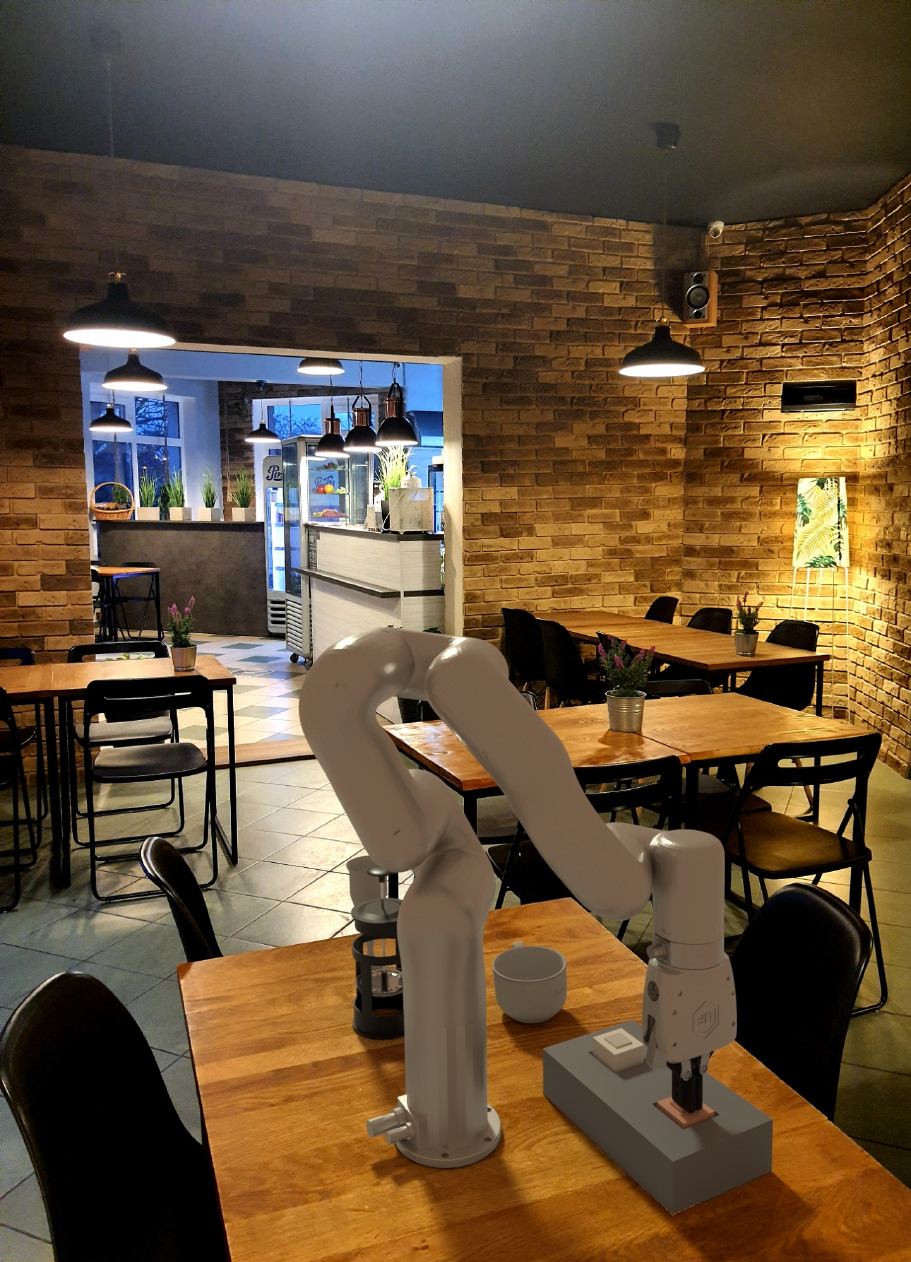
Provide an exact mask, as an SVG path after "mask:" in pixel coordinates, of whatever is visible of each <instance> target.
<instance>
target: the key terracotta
mask: <svg viewBox="0 0 911 1262" xmlns="http://www.w3.org/2000/svg"><path fill="white" fill-rule="evenodd" d="M657 1109H659V1110H660V1111H661V1112H662V1113H664V1114H665V1115H666V1116H667V1117H669V1118H670V1119H671V1120H672V1121H673V1122H675V1123H676V1124H677V1125H678V1126H680V1127H681V1128H682V1129H683V1130H684V1129H686V1128H689V1127H691V1126H694V1125H696V1124H699V1123H701V1122H704V1121H706V1120H708V1119H711V1118H713V1117H715V1111H714V1110H712V1109H711V1108H710V1107H708V1106H707V1105H706V1104H704V1103H703V1108H702V1109H701V1110H699V1111H697V1110H695V1112H694V1113H691V1114H690V1113H688V1112H687V1111H686V1110H685V1109H683V1108H682V1107H681V1106H680V1105H678V1104H677V1103H676V1102H674V1101H673V1099H672V1096H671V1097H669V1098H666V1099H663V1100H661V1101H658V1102H657Z"/></svg>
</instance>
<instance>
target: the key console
mask: <svg viewBox="0 0 911 1262" xmlns="http://www.w3.org/2000/svg"><path fill="white" fill-rule="evenodd" d="M620 1028H622V1029H623V1030H625V1031H626V1032H627V1033H629V1034H630V1035H631V1036H633V1037H634V1038H636V1039H637V1040H638V1041H640V1042H641V1043H642V1044H644V1042H643V1037H642V1024H639V1023H638V1022H637V1021H635V1020H634V1019H631V1020H626V1021H625V1022H621V1023H618V1024H615V1025H613V1026H609V1027H605V1028H603V1029H599V1030H596V1031H593V1032H590V1033H587V1034H584V1035H581V1036H578V1037H574V1038H572V1039H568V1040H565V1041H562V1042H559V1043H555V1044H553V1045H549V1046H547V1047H544V1048H542V1095H543V1096H545V1098H547V1099H548V1100H549V1101H550V1102H551V1103H552V1104H553V1106H555V1107H556V1108H557V1109H558V1110H560V1112H561V1113H563V1114H564V1116H565V1117H567V1118H568V1119H569V1120H570V1121H571V1122H572V1123H573V1124H574V1125H575V1126H576V1127H577V1129H579V1130H580V1131H582V1132H583V1133H584V1134H585V1135H586V1136H587V1138H589V1139H590V1140H591V1141H592V1142H593V1143H594V1144H595V1145H596V1146H597V1147H598V1148H599V1149H600V1150H602V1152H604V1153H605V1154H606V1155H607V1156H608V1157H609V1158H610V1159H611V1160H612V1161H613V1162H614V1163H615V1164H616V1165H617V1166H619V1168H620V1169H622V1170H623V1172H625V1173H626V1174H627V1175H628V1176H629V1177H630V1178H631V1179H632V1180H633V1181H634V1182H635V1183H637V1185H638V1186H640V1187H641V1189H643V1190H644V1191H645V1192H646V1193H647V1194H648V1195H649V1194H650V1195H651V1196H652V1197H653V1198H654V1199H653V1198H652V1197H651V1198H652V1199H653V1200H654V1201H656V1202H657V1203H658V1204H659V1203H660V1204H662V1206H663V1207H664V1208H666V1209H667V1210H668V1211H669V1212H670V1213H671V1214H672V1215H673V1214H675V1213H678V1212H679V1211H682V1210H684V1209H686V1208H689V1207H690V1206H693V1205H696V1204H698V1205H700V1204H699V1203H701V1204H703V1203H704V1202H703V1201H705V1202H707V1201H709V1200H711V1198H712V1199H714V1198H716V1197H718V1196H720V1195H722V1194H725V1193H727V1192H729V1191H731V1190H734V1189H735V1187H736V1188H738V1187H740V1186H742V1185H744V1184H747V1183H748V1182H751V1181H754V1180H756V1179H757V1178H759V1177H762V1176H764V1175H766V1174H768V1173H770V1172H772V1171H773V1133H774V1131H773V1128H774V1127H773V1125H774V1119H773V1118H772V1117H770V1116H769V1115H767V1114H766V1113H765V1112H763V1111H762V1110H760V1109H759V1108H758V1107H756V1106H755V1105H753V1104H752V1103H751V1102H749V1101H747V1099H745V1098H743V1097H742V1096H740V1095H739V1094H738V1093H736V1092H735V1091H733V1090H732V1089H731V1088H730V1087H728V1086H727V1085H725V1084H724V1083H722V1082H721V1081H719V1080H718V1079H717V1078H715V1077H714V1076H712V1075H711V1074H709V1073H708V1071H707V1072H706V1073H705V1074H702V1076H703V1103H704V1104H706V1105H707V1106H708V1107H710V1108H711V1109H712V1110H714V1111H715V1117H713V1118H711V1119H708V1120H706V1121H704V1122H701V1123H699V1124H696V1125H694V1126H691V1127H689V1128H686V1129H684V1130H683V1129H682V1128H681V1127H680V1126H678V1125H677V1124H676V1123H675V1122H673V1121H672V1120H671V1119H670V1118H669V1117H667V1116H666V1115H665V1114H664V1113H662V1112H661V1111H660V1110H659V1109H657V1102H658V1101H661V1100H663V1099H666V1098H669V1097H671V1096H672V1071H671V1070H670V1069H669V1068H663V1069H654V1068H652V1067H651V1066H650V1065H649V1064H647V1063H646V1055H647V1049H648V1046H646V1045H645V1044H644V1063H642V1064H639V1065H636V1066H634V1067H631V1068H628V1069H625V1070H622V1071H619V1072H616V1073H613V1072H612V1071H611V1070H609V1069H608V1068H607V1067H606V1066H604V1065H603V1064H602V1063H601V1062H600V1061H598V1060H597V1059H596V1058H595V1057H593V1037H595V1036H598V1035H602V1034H605V1033H608V1032H611V1031H614V1030H617V1029H620ZM724 1192H725V1193H724ZM650 1195H649V1196H650ZM713 1197H714V1198H713ZM708 1199H709V1200H708ZM706 1200H707V1201H706ZM702 1202H703V1203H702ZM660 1204H659V1205H660ZM662 1206H661V1207H662ZM696 1206H697V1205H696ZM663 1207H662V1208H663ZM664 1208H663V1209H664Z"/></svg>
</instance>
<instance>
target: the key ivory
mask: <svg viewBox="0 0 911 1262" xmlns="http://www.w3.org/2000/svg"><path fill="white" fill-rule="evenodd" d="M593 1057H595V1058H596V1059H597V1060H598V1061H600V1062H601V1063H602V1064H603V1065H604V1066H606V1067H607V1068H608V1069H609V1070H611V1071H612V1072H613V1073H616V1072H619V1071H622V1070H625V1069H628V1068H631V1067H634V1066H636V1065H639V1064H642V1063H644V1044H642V1043H641V1042H640V1041H638V1040H637V1039H636V1038H634V1037H633V1036H631V1035H630V1034H629V1033H627V1032H626V1031H625V1030H623V1029H622V1028H620V1029H617V1030H614V1031H611V1032H608V1033H605V1034H602V1035H598V1036H595V1037H593Z"/></svg>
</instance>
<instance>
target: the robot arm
mask: <svg viewBox="0 0 911 1262" xmlns="http://www.w3.org/2000/svg"><path fill="white" fill-rule="evenodd" d="M509 672H510V671H509V666H508V663H507V660H506V658H505V656H504V655H503V654H502V652H501V650H499V649H498V647H496V646H495V645H494V644H492V643H490V642H488V641H487V640H483V639H480V638H475V637H468V636H463V635H462V636H461V635H453V634H452V635H450V634H445V633H443V634H442V633H436V632H435V633H434V632H428V631H419V630H415V629H407V628H399V627H389V626H388V627H387V626H385V627H383V626H381V627H374V628H369V629H366V630H364V631H360V632H359V633H354V634H350V635H349V636H346V637H343V638H341V639H340V640H338V641H336V642H335V643H333V644H332V645H330V646H329V647H327V648H326V649H325V650H324V651H323V652H321V654H320V655H318V657H317V658H316V660H315V661H314V663H312V665H311V666H310V668H309V669H308V672H307V674H306V675H305V677H304V679H303V682H302V685H301V688H300V690H299V691H300V693H299V698H298V717H299V722H300V726H301V730H302V732H303V735H304V738H305V739H306V742H307V744H308V746H309V748H310V750H311V751H312V753H313V755H314V756H315V758H316V761H317V762H318V764H319V766H320V767H321V769H322V771H323V773H324V774H325V776H326V777H327V780H328V781H329V783H330V785H331V787H332V790H333V792H334V794H335V795H336V797H337V800H338V802H339V803H340V805H341V807H342V809H343V811H344V812H345V813H344V814H346V817H347V818H348V820H349V821H350V824H351V825H352V827H353V829H354V831H355V833H356V835H357V837H358V839H359V842H360V843H361V845H362V846H363V848H364V850H365V851H366V853H367V856H368V855H369V856H370V858H371V859H372V860H373V861H374V862H375V863H376V864H377V865H378V866H379V867H381V868H383V869H385V870H387V871H390V872H394V874H396V873H397V874H400V873H401V874H402V873H406V872H409V871H411V872H412V873H413V875H414V877H415V878H414V879H413V880H412V882H411V883H410V885H409V887H408V888H407V890H406V892H405V894H404V896H403V898H402V899H401V900H402V903H401V906H400V909H399V913H398V919H397V938H398V945H399V952H400V958H401V966H402V979H403V1009H404V1036H403V1037H404V1073H405V1077H404V1078H405V1079H404V1080H405V1084H404V1085H405V1094H404V1095H403V1094H402V1095H400V1096H397V1107H395V1108H392V1109H391V1110H390V1113H387V1114H384V1115H383V1114H382V1115H379V1116H376V1117H373V1118H369V1119H366V1123H365V1125H366V1126H365V1127H366V1131H367V1135H368V1136H369V1138H371V1139H373V1138H377V1137H379V1136H381V1135H385V1139H386V1143H387V1144H388V1145H389V1146H390V1145H393V1144H395V1145H396V1147H397V1149H398V1151H400V1152H401V1154H403V1155H404V1156H405V1157H406V1158H408V1159H410V1160H412V1161H413V1162H416V1163H417V1164H419V1165H422V1166H423V1165H424V1166H427V1167H432V1168H436V1169H437V1168H440V1169H449V1168H450V1169H453V1168H461V1167H464V1166H468V1165H469V1166H470V1165H472V1164H475V1163H477V1162H479V1161H480V1160H482V1159H484V1158H486V1157H488V1155H489V1154H491V1153H492V1152H493V1151H494V1150H495V1149H496V1147H497V1146H498V1145H499V1142H500V1141H501V1140H500V1139H501V1136H502V1125H501V1124H502V1122H501V1121H502V1120H501V1119H500V1115H499V1114H498V1112H497V1111H496V1109H495V1108H493V1107H492V1106H491V1104H489V1103H488V1051H487V1050H488V1047H487V1045H488V1040H487V1037H488V1036H487V1035H488V1033H487V988H486V987H487V985H486V970H485V968H486V967H485V959H484V944H483V943H484V931H485V925H486V922H487V919H488V916H489V912H490V910H491V907H492V904H493V902H494V899H495V895H496V887H497V885H496V884H497V883H496V876H495V872H494V869H493V865H492V864H491V861H490V859H489V856H488V854H487V853H486V850H485V849H484V848H483V846H482V843H481V842H480V840H479V838H478V837H477V835H476V833H475V831H474V829H473V827H472V825H471V823H470V821H469V820H468V818H467V816H466V814H465V812H464V811H463V808H462V807H461V805H460V803H459V801H458V800H457V798H456V796H455V795H454V793H453V791H452V790H451V789H450V787H449V786H448V785H447V784H446V783H445V782H444V781H443V780H442V779H441V778H439V776H437V775H435V774H434V773H432V772H430V771H427V770H424V769H420V768H419V769H418V768H408V767H407V765H406V764H405V762H404V760H403V758H402V756H401V754H400V752H399V750H398V748H397V746H396V744H395V742H394V741H393V739H392V737H390V735H389V734H388V733H387V731H386V730H385V729H384V728H383V727H382V726H381V725H380V723H379V721H378V719H377V716H376V714H377V709H378V708H379V707H380V706H381V705H382V704H383V703H384V702H386V701H389V700H390V699H391V698H393V697H394V698H402V699H410V700H415V701H416V700H418V701H422V702H423V701H425V702H428V703H429V706H430V707H431V708H432V710H433V711H434V713H435V714H436V715H437V716H438V717H439V719H440V720H441V721H442V722H443V723H444V724H445V725H446V727H447V729H449V730H450V731H451V732H452V734H453V735H454V737H456V738H457V739H458V741H460V743H461V744H462V745H463V746H464V747H465V748H466V750H467V751H468V752H469V753H470V755H471V756H472V757H473V758H474V759H475V760H476V761H477V763H479V765H480V766H481V767H482V768H483V769H484V771H485V772H486V773H487V774H488V776H489V777H491V779H492V780H493V781H494V782H495V783H496V785H497V786H498V787H499V789H500V790H501V792H502V793H503V794H504V796H505V799H506V800H507V801H508V803H509V806H510V808H511V810H512V811H513V813H514V815H515V816H516V818H517V819H518V820H519V822H520V824H521V826H522V827H523V828H524V830H525V833H527V836H528V838H529V839H530V841H531V842H532V844H533V845H534V847H535V848H536V849H537V851H538V853H539V855H540V856H541V857H542V858H543V860H544V861H545V863H546V864H547V865H548V867H549V868H550V869H551V870H552V871H553V873H554V874H555V875H556V876H557V878H558V879H559V880H560V881H561V882H562V883H563V884H564V886H565V887H566V888H567V889H568V890H569V891H570V892H571V893H572V895H573V896H574V897H575V898H576V899H577V900H578V901H579V903H581V905H583V907H585V908H586V909H587V910H589V911H590V912H591V913H592V914H594V915H596V916H597V917H600V918H602V919H605V920H607V921H614V922H616V921H617V922H621V921H627V920H629V919H632V918H635V917H636V916H637V915H639V914H640V913H641V912H642V911H643V910H644V909H645V907H646V906H647V904H648V903H649V901H650V898H651V895H652V944H651V945H649V946H647V947H646V955H647V956H648V958H649V959H648V963H647V968H646V974H645V979H644V985H643V995H642V996H643V997H642V1005H641V1006H642V1008H641V1026H642V1037H643V1042H644V1044H645V1045H646V1046H648V1049H647V1055H646V1063H647V1064H649V1065H650V1066H651V1067H652V1068H654V1069H663V1068H669V1069H670V1070H671V1071H672V1099H673V1101H674V1102H676V1103H677V1104H678V1105H680V1106H681V1107H682V1108H683V1109H685V1110H686V1111H687V1112H688V1113H690V1114H691V1113H694V1112H695V1110H697V1111H699V1110H701V1109H702V1108H703V1076H702V1074H705V1073H706V1072H707V1073H708V1069H709V1064H710V1059H711V1057H712V1056H713V1054H714V1053H715V1051H717V1050H720V1049H721V1048H724V1047H727V1046H729V1045H730V1044H731V1043H733V1042H734V1040H735V1039H736V1037H737V1029H738V1026H737V1025H738V1022H737V1018H738V1017H737V1015H738V1013H737V998H736V997H737V995H736V987H735V986H736V985H735V980H734V979H735V978H734V973H733V968H732V964H731V961H730V957H729V955H728V954H727V953H726V952H725V947H724V946H725V869H726V868H725V861H726V860H725V859H726V858H725V857H726V856H725V849H724V846H723V844H722V842H721V840H720V839H719V838H718V837H716V836H715V835H713V834H711V833H708V832H705V831H701V830H696V829H673V830H663V829H657V828H652V827H651V828H650V827H646V826H643V825H642V826H641V825H637V824H632V823H626V822H607V823H606V822H605V821H604V820H603V818H601V816H600V814H599V813H598V812H597V811H596V810H595V808H594V807H593V804H592V803H591V802H590V800H589V798H587V795H586V794H585V792H584V790H583V788H582V786H581V784H580V782H579V780H578V778H577V775H576V773H575V770H574V767H573V764H572V760H571V757H570V755H569V753H568V751H567V749H566V747H565V746H564V744H563V742H562V740H561V739H560V737H559V736H558V734H556V733H555V731H554V730H553V729H552V728H551V727H550V726H549V725H548V724H547V722H546V721H545V720H544V719H543V718H542V717H541V716H540V714H539V713H538V712H537V711H536V710H535V709H534V707H533V706H532V705H531V704H530V703H529V701H527V699H526V698H525V697H524V696H523V695H522V694H521V692H520V691H519V690H518V688H517V687H515V685H514V684H513V683H512V682H511V681H510V679H509V676H510V675H509Z"/></svg>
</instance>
